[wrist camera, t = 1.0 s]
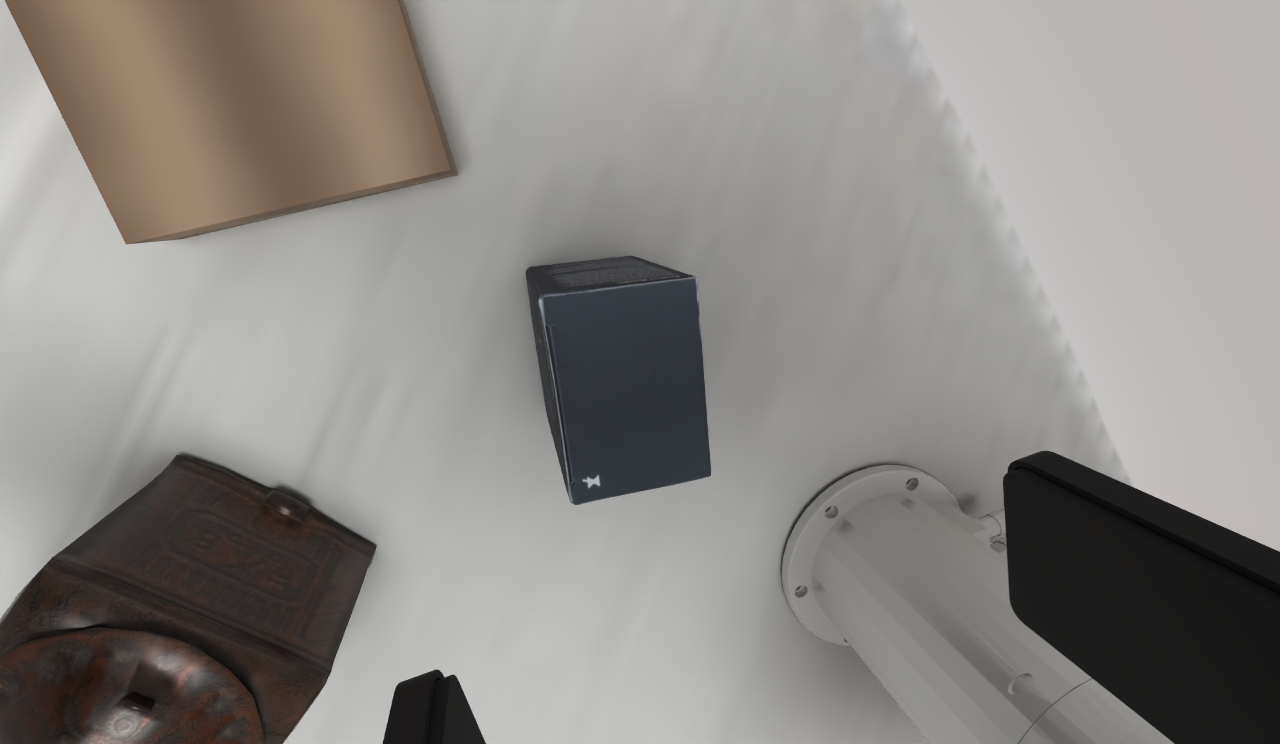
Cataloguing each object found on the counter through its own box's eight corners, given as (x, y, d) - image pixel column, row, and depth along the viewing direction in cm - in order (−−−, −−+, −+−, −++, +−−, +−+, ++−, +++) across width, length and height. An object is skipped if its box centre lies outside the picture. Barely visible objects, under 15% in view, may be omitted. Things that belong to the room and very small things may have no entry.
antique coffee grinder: (392, 537, 31) (261, 928, 14) (274, 695, 32) (21, 1239, 15) (73, 376, 26) (-723, 687, 9) (-56, 568, 27) (-1003, 1180, 10)
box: (649, 397, 32) (714, 481, 22) (545, 414, 31) (566, 510, 21) (635, 252, 30) (701, 274, 20) (523, 265, 29) (535, 295, 19)
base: (361, -134, 24) (334, -200, 20) (457, 175, 27) (450, 169, 24) (30, -84, 22) (-68, -145, 18) (181, 239, 26) (125, 244, 22)
